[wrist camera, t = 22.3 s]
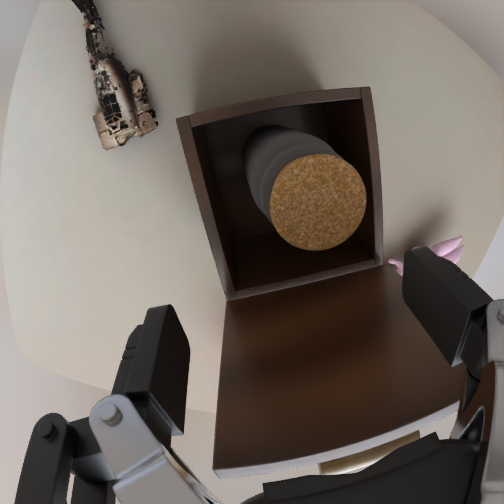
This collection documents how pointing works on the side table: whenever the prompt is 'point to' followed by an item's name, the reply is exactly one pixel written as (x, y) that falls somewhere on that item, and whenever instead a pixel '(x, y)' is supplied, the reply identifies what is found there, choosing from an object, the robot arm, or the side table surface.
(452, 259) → the pink creature figurine
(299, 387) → the lid
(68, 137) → the side table surface
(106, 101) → the airplane wreck
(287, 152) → the bottle
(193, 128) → the chest
